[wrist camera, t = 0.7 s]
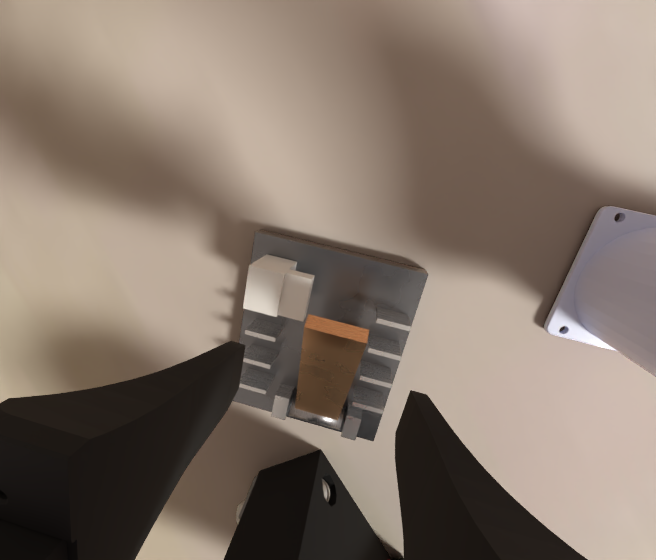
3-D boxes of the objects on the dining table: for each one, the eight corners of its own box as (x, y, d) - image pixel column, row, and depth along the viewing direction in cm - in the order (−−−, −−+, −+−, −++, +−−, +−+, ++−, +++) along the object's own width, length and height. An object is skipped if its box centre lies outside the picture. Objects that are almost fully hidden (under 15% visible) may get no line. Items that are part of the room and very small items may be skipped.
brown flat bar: (376, 326, 15) (372, 350, 14) (342, 413, 23) (338, 432, 22) (304, 307, 16) (296, 330, 15) (294, 399, 23) (288, 418, 22)
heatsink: (425, 269, 20) (433, 282, 17) (373, 429, 24) (373, 461, 21) (261, 229, 21) (243, 236, 18) (237, 390, 25) (219, 416, 22)
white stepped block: (320, 267, 20) (310, 280, 17) (311, 305, 21) (301, 323, 18) (266, 254, 20) (249, 265, 17) (260, 291, 21) (242, 308, 18)
